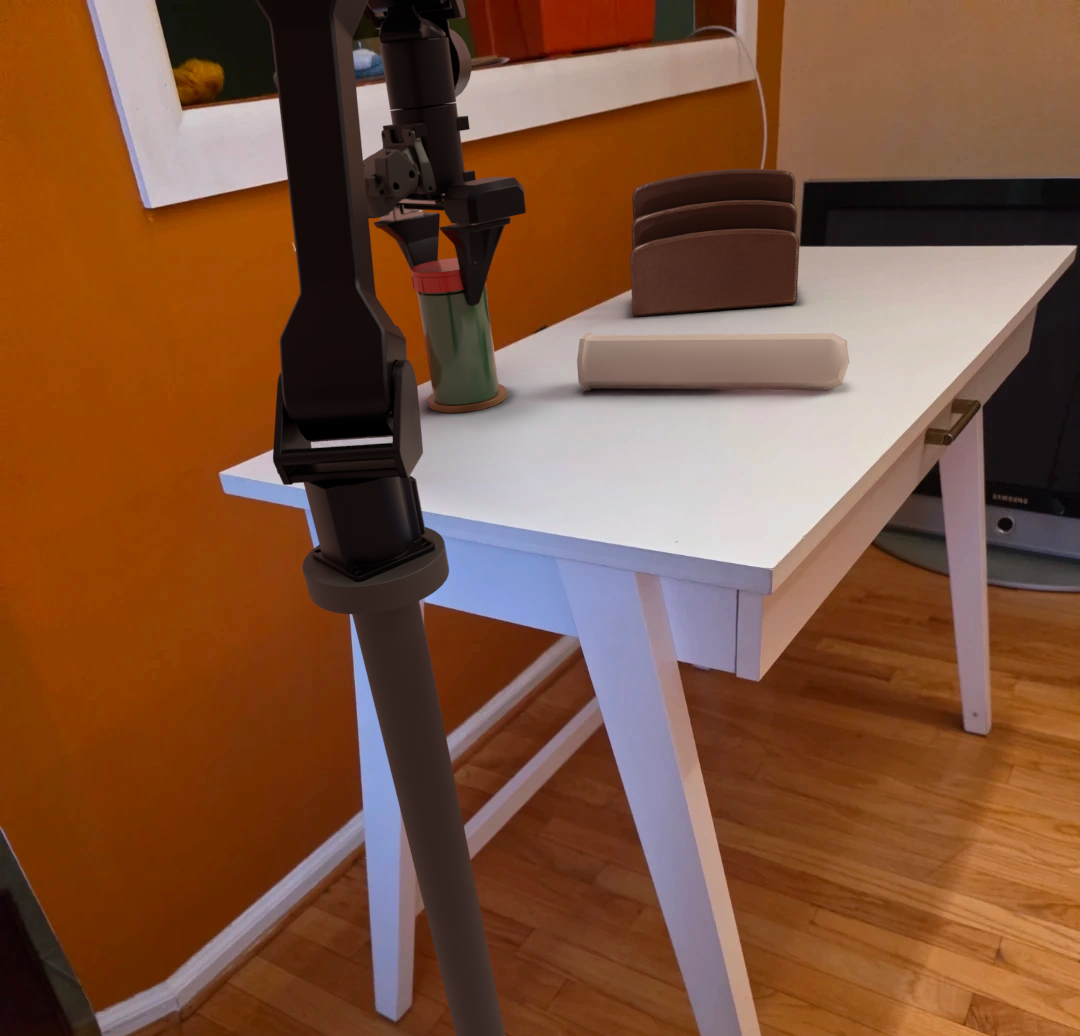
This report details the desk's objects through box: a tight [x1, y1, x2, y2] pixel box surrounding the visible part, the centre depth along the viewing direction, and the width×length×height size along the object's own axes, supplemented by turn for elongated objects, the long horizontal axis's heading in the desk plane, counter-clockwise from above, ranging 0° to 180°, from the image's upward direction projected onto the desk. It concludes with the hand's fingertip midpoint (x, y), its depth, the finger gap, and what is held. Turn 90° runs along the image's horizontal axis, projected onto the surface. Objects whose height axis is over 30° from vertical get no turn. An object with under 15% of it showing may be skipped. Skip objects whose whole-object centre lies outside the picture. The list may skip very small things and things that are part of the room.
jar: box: [416, 282, 499, 405], centre depth 92 cm, size 7×7×11 cm
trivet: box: [427, 383, 508, 414], centre depth 96 cm, size 8×8×1 cm
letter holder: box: [629, 168, 801, 317], centre depth 116 cm, size 10×20×14 cm, turn 82°
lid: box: [410, 257, 489, 293], centre depth 89 cm, size 7×7×2 cm
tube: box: [576, 332, 850, 392], centre depth 89 cm, size 5×5×25 cm
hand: (450, 301), depth 90 cm, fingers closed on lid, 7 cm apart
